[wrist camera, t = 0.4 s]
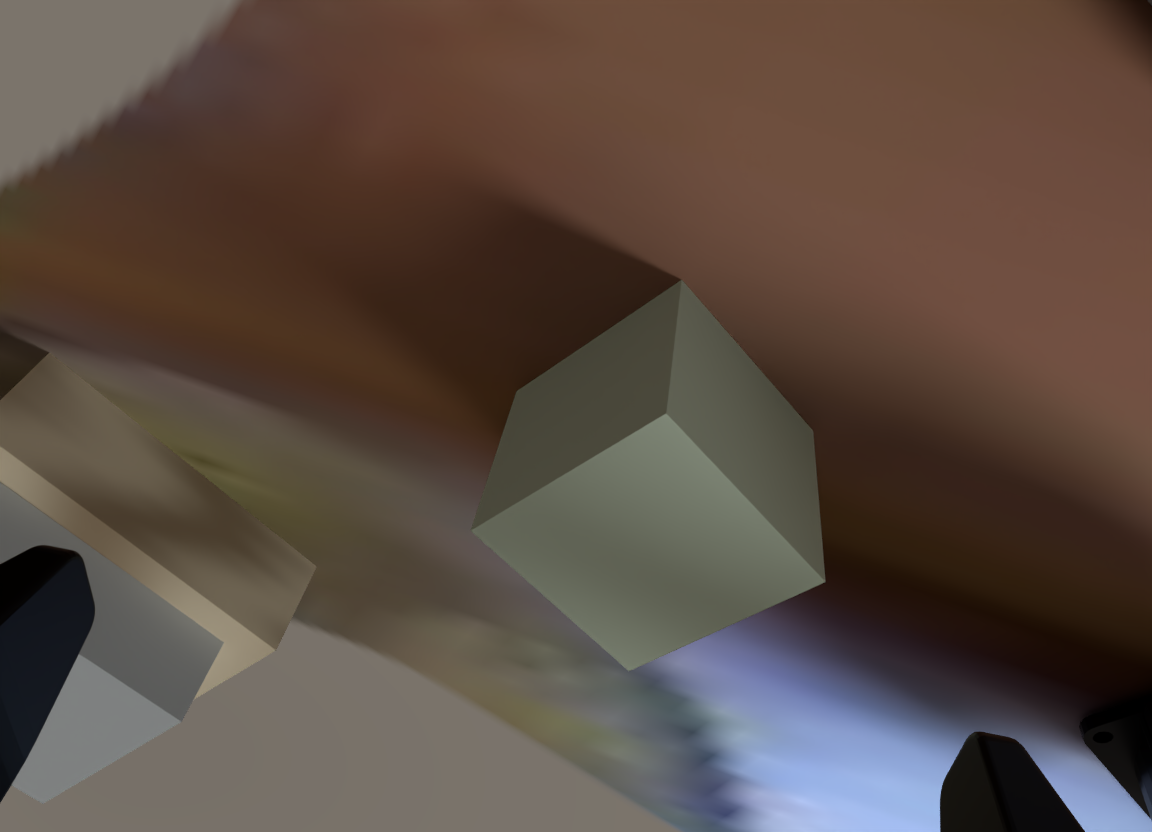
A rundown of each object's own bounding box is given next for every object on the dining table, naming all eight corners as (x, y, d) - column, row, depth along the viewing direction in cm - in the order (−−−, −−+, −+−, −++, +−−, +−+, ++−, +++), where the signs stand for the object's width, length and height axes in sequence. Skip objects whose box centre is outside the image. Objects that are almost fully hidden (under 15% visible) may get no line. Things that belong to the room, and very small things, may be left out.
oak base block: (321, 556, 29) (276, 650, 26) (154, 665, 33) (99, 755, 31) (57, 344, 26) (-27, 426, 23) (-91, 495, 30) (-177, 580, 27)
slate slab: (224, 642, 26) (181, 721, 24) (89, 727, 30) (42, 804, 28) (-10, 475, 24) (-79, 548, 22) (-128, 589, 27) (-198, 662, 25)
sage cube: (812, 428, 24) (825, 581, 20) (647, 518, 26) (628, 671, 22) (682, 277, 22) (666, 413, 18) (517, 389, 24) (470, 530, 20)
